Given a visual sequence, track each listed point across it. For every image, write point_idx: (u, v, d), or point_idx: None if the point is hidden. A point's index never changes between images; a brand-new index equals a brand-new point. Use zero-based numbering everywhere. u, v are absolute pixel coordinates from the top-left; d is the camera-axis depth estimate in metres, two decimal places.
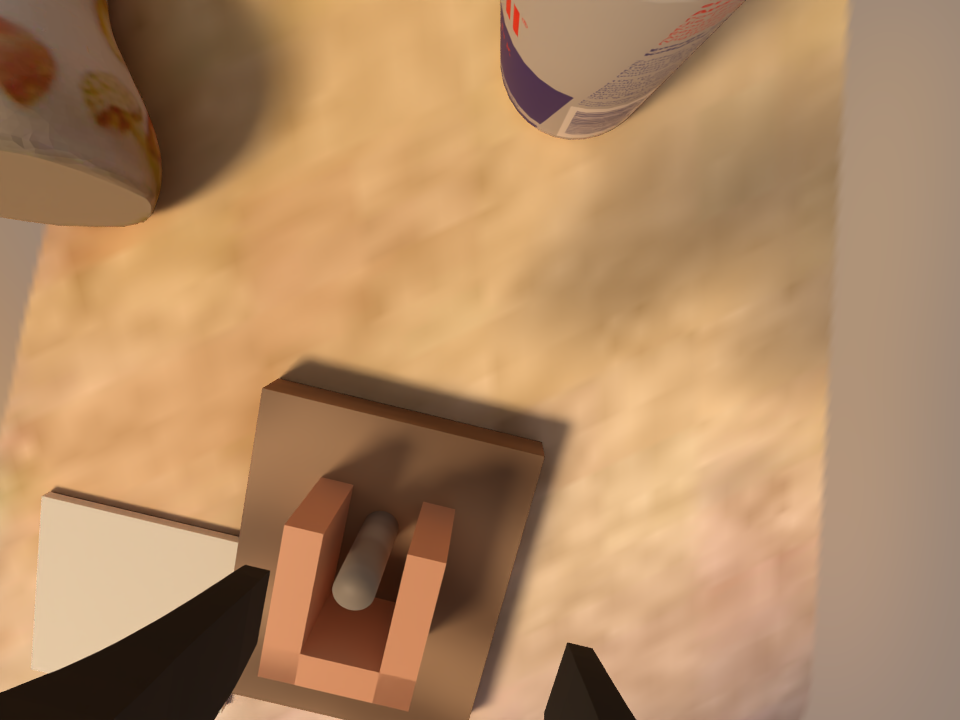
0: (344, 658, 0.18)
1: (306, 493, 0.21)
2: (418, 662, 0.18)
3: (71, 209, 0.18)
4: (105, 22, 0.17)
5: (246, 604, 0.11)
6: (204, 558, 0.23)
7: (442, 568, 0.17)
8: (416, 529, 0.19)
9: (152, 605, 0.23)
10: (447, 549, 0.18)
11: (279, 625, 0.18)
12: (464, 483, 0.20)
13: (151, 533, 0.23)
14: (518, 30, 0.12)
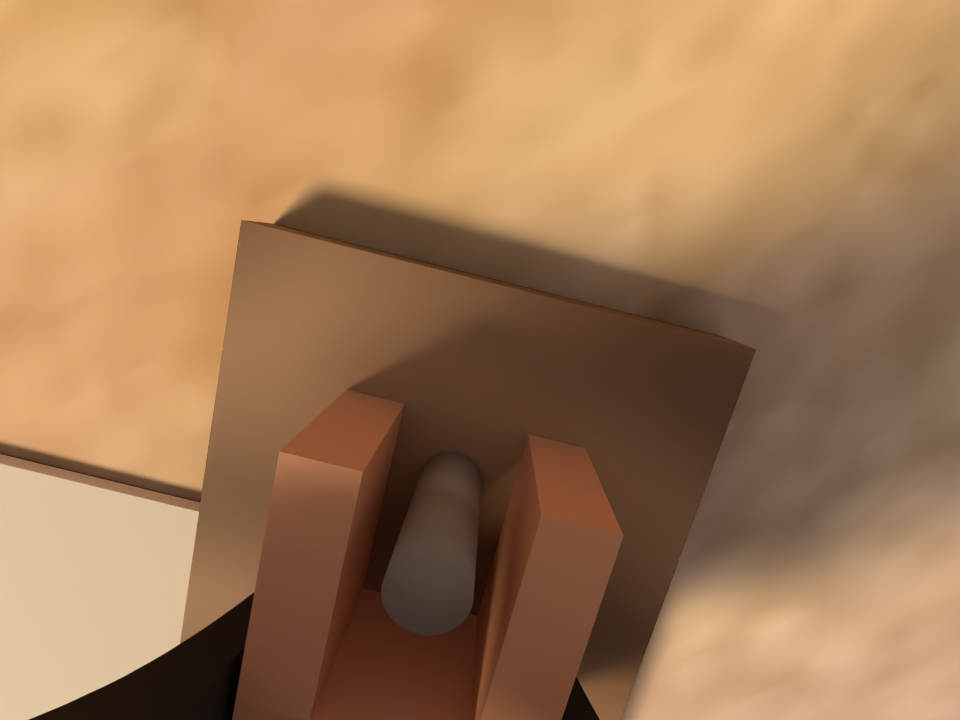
0: None
1: None
2: None
3: None
4: None
5: None
6: (146, 539, 0.14)
7: (613, 546, 0.08)
8: (537, 474, 0.10)
9: (63, 617, 0.14)
10: (610, 510, 0.09)
11: (268, 664, 0.09)
12: (605, 400, 0.11)
13: (57, 496, 0.14)
14: None
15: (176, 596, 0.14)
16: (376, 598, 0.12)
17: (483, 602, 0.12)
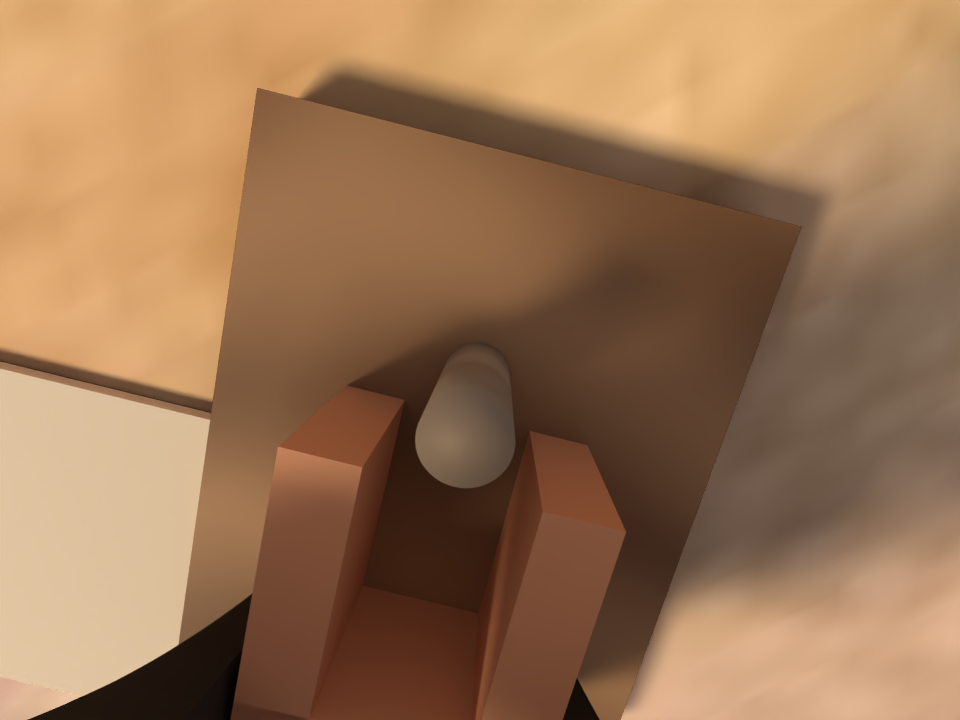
0: None
1: (339, 308, 0.11)
2: None
3: None
4: None
5: None
6: (155, 450, 0.13)
7: (616, 543, 0.08)
8: (538, 470, 0.09)
9: (68, 536, 0.14)
10: (612, 506, 0.09)
11: (267, 661, 0.09)
12: (641, 284, 0.11)
13: (61, 404, 0.13)
14: None
15: (186, 512, 0.13)
16: (376, 596, 0.12)
17: (484, 600, 0.12)
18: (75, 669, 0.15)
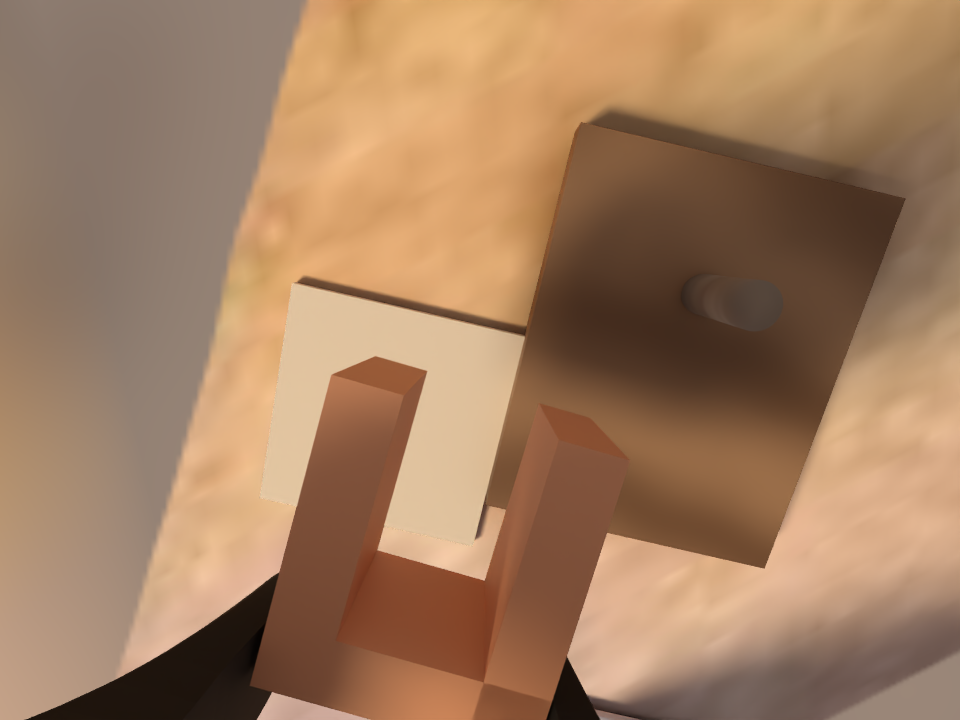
0: (416, 654, 0.10)
1: (619, 254, 0.18)
2: (559, 662, 0.10)
3: None
4: None
5: None
6: (472, 355, 0.20)
7: (621, 471, 0.09)
8: (551, 421, 0.11)
9: None
10: (616, 448, 0.10)
11: (302, 581, 0.09)
12: (806, 235, 0.18)
13: (414, 325, 0.20)
14: None
15: (488, 396, 0.20)
16: (389, 559, 0.13)
17: (491, 564, 0.13)
18: (399, 511, 0.22)
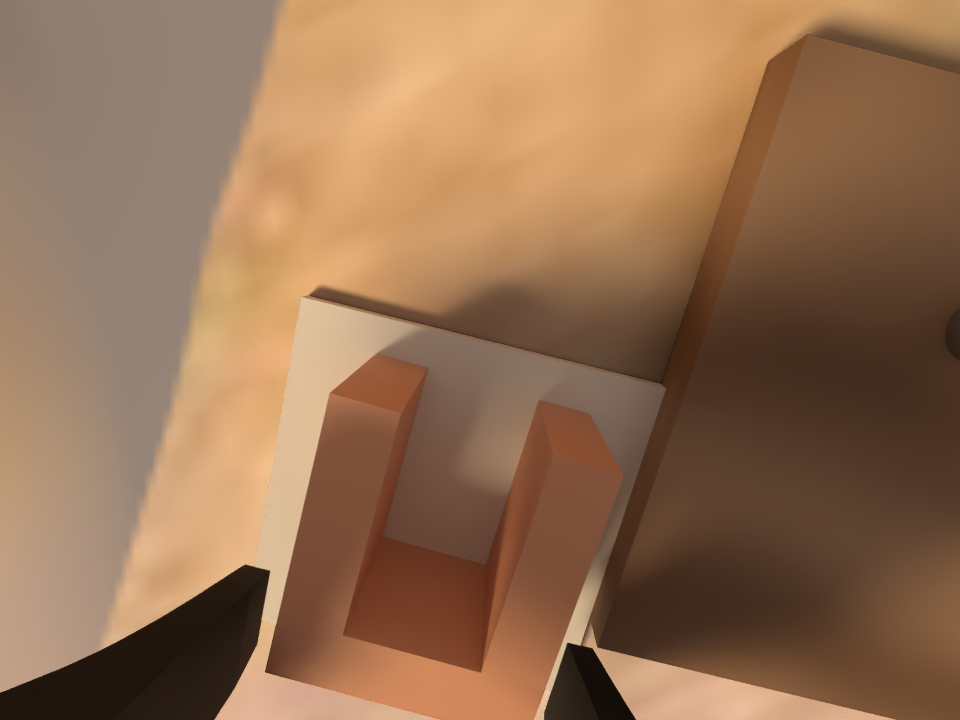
0: (418, 646, 0.10)
1: (850, 262, 0.11)
2: (552, 657, 0.10)
3: None
4: None
5: (246, 604, 0.11)
6: None
7: (614, 485, 0.09)
8: (548, 428, 0.11)
9: (474, 503, 0.13)
10: (612, 458, 0.10)
11: (309, 582, 0.10)
12: None
13: (492, 367, 0.13)
14: None
15: None
16: (394, 545, 0.14)
17: (492, 551, 0.13)
18: None
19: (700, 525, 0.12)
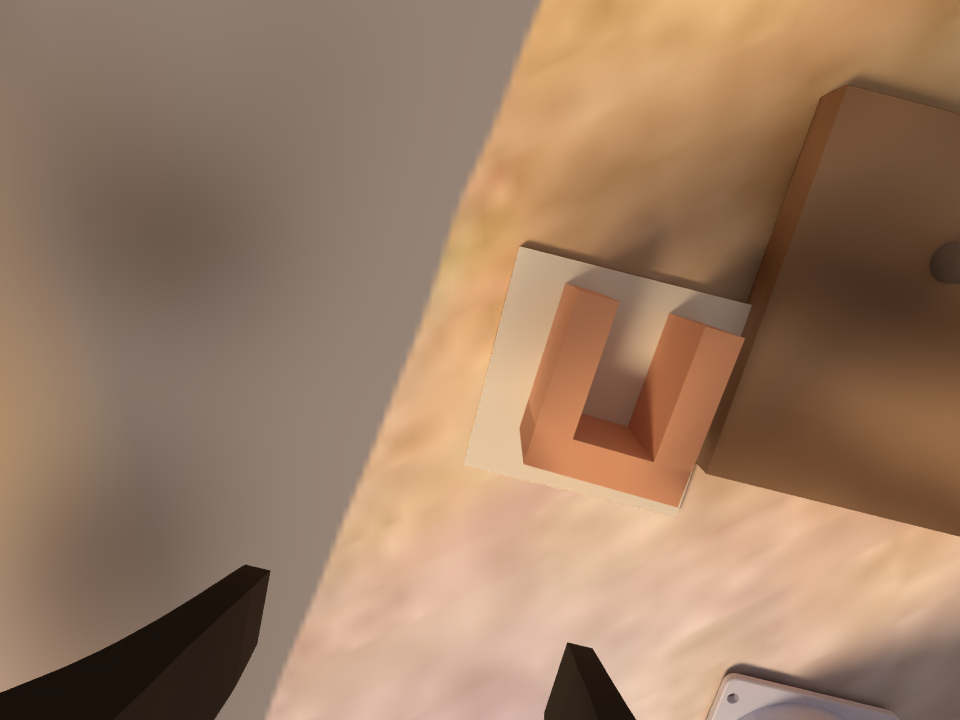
0: (614, 448, 0.18)
1: (871, 220, 0.18)
2: (696, 451, 0.17)
3: None
4: None
5: (246, 604, 0.11)
6: None
7: (739, 344, 0.17)
8: (689, 320, 0.18)
9: (623, 383, 0.21)
10: None
11: (556, 406, 0.17)
12: None
13: (640, 291, 0.20)
14: None
15: None
16: None
17: (635, 414, 0.20)
18: None
19: (775, 389, 0.19)
